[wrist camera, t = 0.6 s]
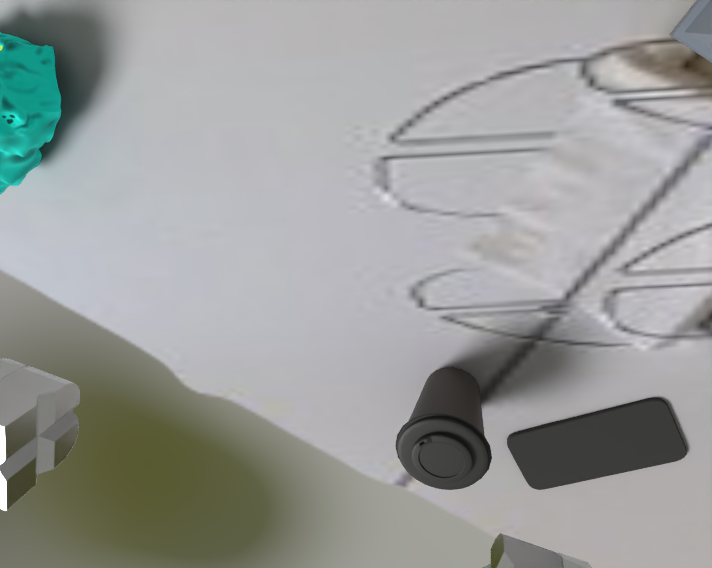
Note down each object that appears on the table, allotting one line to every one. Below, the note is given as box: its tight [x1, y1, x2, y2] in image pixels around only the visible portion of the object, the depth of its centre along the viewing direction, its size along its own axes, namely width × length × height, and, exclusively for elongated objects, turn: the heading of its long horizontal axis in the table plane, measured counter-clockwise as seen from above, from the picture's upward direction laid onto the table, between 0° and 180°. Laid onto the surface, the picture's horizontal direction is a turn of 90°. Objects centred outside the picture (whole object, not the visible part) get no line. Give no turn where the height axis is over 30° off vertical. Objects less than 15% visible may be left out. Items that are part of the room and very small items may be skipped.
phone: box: [507, 398, 686, 490], centre depth 53 cm, size 7×1×15 cm
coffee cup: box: [396, 368, 492, 490], centre depth 50 cm, size 8×8×10 cm
